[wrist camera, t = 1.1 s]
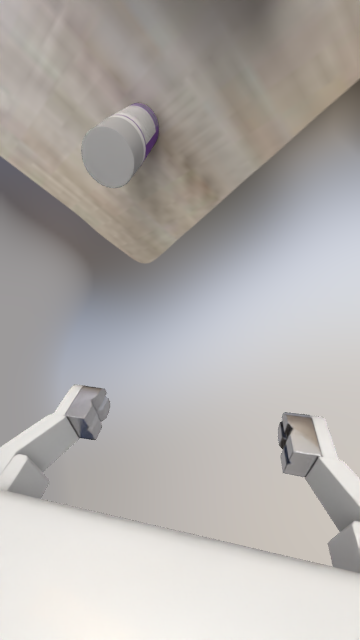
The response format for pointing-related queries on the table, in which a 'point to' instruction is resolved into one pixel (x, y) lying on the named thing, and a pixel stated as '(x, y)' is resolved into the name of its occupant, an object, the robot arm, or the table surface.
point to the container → (120, 145)
